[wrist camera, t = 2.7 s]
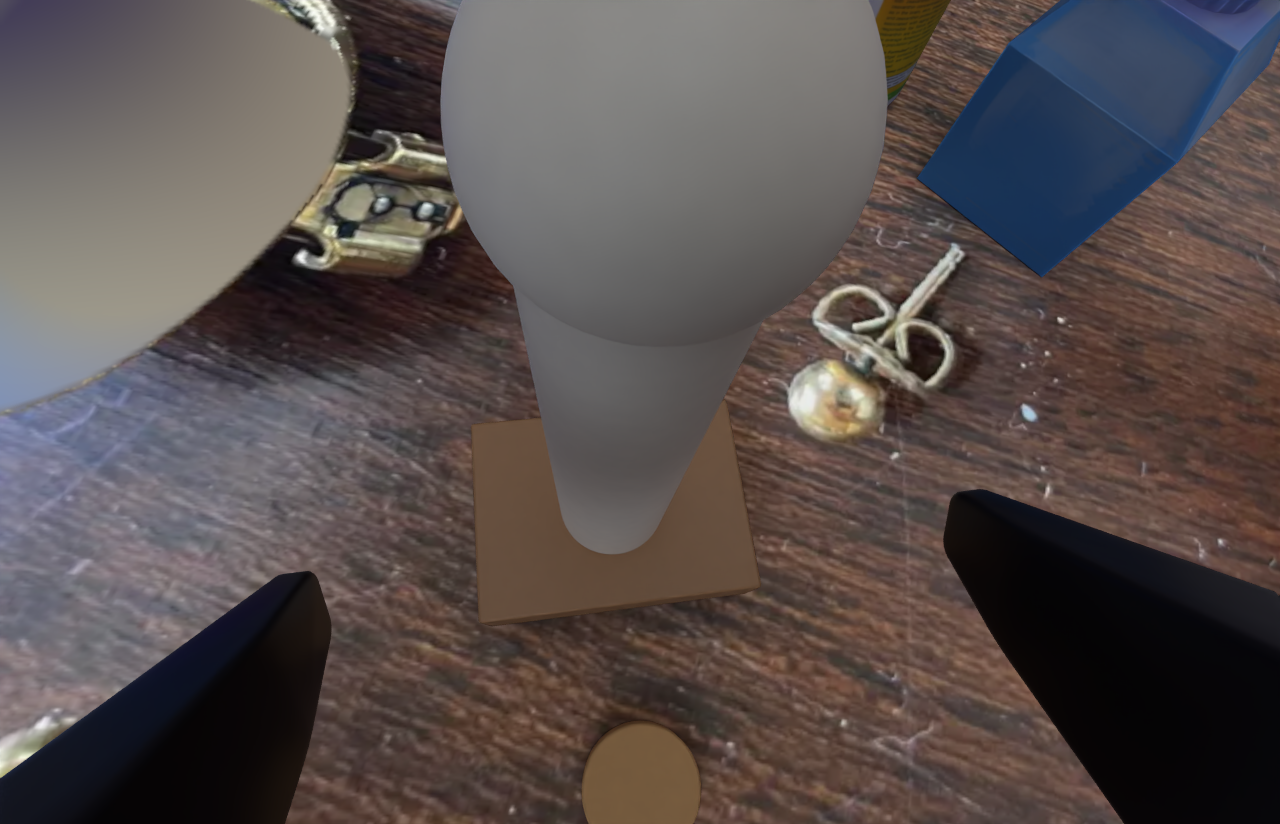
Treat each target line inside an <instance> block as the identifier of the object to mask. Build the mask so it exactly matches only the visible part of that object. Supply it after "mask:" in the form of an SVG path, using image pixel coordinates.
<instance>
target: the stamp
mask: <svg viewBox="0 0 1280 824" xmlns="http://www.w3.org/2000/svg"><path fill="white" fill-rule="evenodd" d="M887 105H888V96H887V81H886V68H885V57H884V52H883V48H882V44H881V40H880V36H879V32H878V28H877V24H876V20H875V16H874V13H873V10H872V7H871V5H870V3H869V0H462V2H461V5H460V7H459V10H458V13H457V15H456V18H455V21H454V24H453V27H452V30H451V33H450V38H449V42H448V46H447V50H446V55H445V62H444V68H443V74H442V87H441V127H442V135H443V144H444V150H445V155H446V160H447V166H448V170H449V173H450V177H451V180H452V184H453V187H454V191H455V193H456V196H457V198H458V201H459V203H460V206H461V208H462V211H463V213H464V215H465V217H466V219H467V221H468V223H469V226H470V228H471V230H472V232H473V233H474V235H475V236H476V238H477V239H478V241H479V242H480V244H481V245H482V247H483V248H484V250H485V251H486V253H487V254H488V256H489V257H490V259H491V260H492V262H493V263H494V265H495V266H496V267H497V268H498V269H499V270H500V272H501V273H502V274H503V275H504V276H505V277H506V278H507V279H508V280H509V282H510V283H511V284H512V285H513V287H514V291H515V296H516V301H517V306H518V310H519V315H520V320H521V325H522V329H523V334H524V339H525V344H526V348H527V353H528V358H529V363H530V367H531V372H532V377H533V382H534V386H535V391H536V396H537V401H538V405H539V410H540V415H541V418H530V419H520V420H509V421H499V422H488V423H478V424H473V425H472V426H471V445H472V469H473V494H474V519H475V544H476V569H477V594H478V618H479V622H480V623H482V624H486V625H489V626H498V625H506V624H513V623H521V622H529V621H537V620H544V619H552V618H560V617H567V616H575V615H583V614H591V613H598V612H606V611H614V610H621V609H629V608H637V607H645V606H652V605H660V604H668V603H675V602H683V601H691V600H699V599H706V598H714V597H722V596H729V595H737V594H745V593H747V592H750V591H752V590H755V589H757V588H759V587H761V581H760V575H759V570H758V565H757V560H756V554H755V549H754V544H753V538H752V533H751V528H750V522H749V517H748V512H747V506H746V501H745V496H744V490H743V485H742V480H741V474H740V469H739V464H738V458H737V453H736V448H735V442H734V437H733V432H732V426H731V421H730V416H729V410H728V405H727V402H726V400H723V398H724V396H725V394H726V392H727V390H728V388H729V386H730V384H731V382H732V380H733V378H734V377H735V375H736V373H737V371H738V369H739V367H740V365H741V363H742V361H743V359H744V357H745V355H746V353H747V351H748V349H749V347H750V345H751V343H752V341H753V339H754V337H755V335H756V333H757V332H758V330H759V328H760V326H761V324H762V322H763V320H764V319H766V318H767V317H769V316H771V315H773V314H774V313H776V312H778V311H779V310H781V309H782V308H783V307H785V306H786V305H787V304H788V303H790V302H791V301H792V300H793V299H795V298H796V297H797V296H799V295H800V294H801V293H802V292H803V291H804V290H805V289H807V288H808V287H809V286H810V285H811V284H812V283H813V282H814V281H815V280H816V279H817V278H818V277H819V276H820V274H821V273H822V272H823V271H824V270H825V269H826V268H827V267H828V266H829V264H830V263H831V262H832V260H833V259H834V258H835V256H836V255H837V254H838V252H839V251H840V249H841V248H842V246H843V245H844V243H845V242H846V240H847V239H848V237H849V236H850V234H851V233H852V231H853V229H854V227H855V225H856V223H857V221H858V219H859V217H860V215H861V213H862V211H863V209H864V206H865V204H866V202H867V200H868V198H869V195H870V193H871V191H872V187H873V184H874V180H875V177H876V173H877V170H878V166H879V162H880V158H881V155H882V151H883V146H884V137H885V128H886V118H887Z"/></svg>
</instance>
